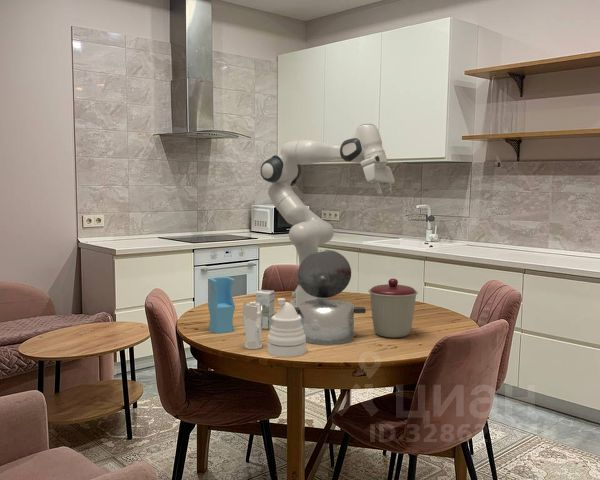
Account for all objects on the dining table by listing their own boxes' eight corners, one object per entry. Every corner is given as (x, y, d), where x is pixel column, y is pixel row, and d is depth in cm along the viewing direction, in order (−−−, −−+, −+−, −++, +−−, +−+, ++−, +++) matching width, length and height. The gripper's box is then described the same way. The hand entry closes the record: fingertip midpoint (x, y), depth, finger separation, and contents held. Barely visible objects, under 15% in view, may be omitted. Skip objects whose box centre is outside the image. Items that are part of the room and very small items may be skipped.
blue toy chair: (215, 333, 220) (214, 280, 218) (208, 329, 227) (207, 277, 225) (235, 331, 224) (234, 279, 222) (227, 326, 231) (227, 276, 229)
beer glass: (243, 344, 206) (242, 301, 205) (263, 343, 207) (263, 301, 205) (243, 349, 199) (242, 306, 198) (263, 349, 200) (263, 305, 198)
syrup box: (275, 326, 231) (274, 290, 230) (269, 330, 226) (269, 292, 224) (261, 325, 233) (261, 289, 232) (255, 328, 228) (255, 291, 226)
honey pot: (275, 359, 189) (275, 303, 188) (262, 348, 201) (261, 296, 199) (312, 354, 194) (312, 300, 193) (296, 344, 206) (296, 293, 204)
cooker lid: (297, 298, 224) (296, 294, 226) (349, 297, 225) (348, 293, 228) (298, 251, 215) (298, 247, 218) (352, 250, 216) (351, 247, 219)
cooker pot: (286, 329, 226) (286, 298, 225) (358, 328, 228) (359, 298, 227) (289, 345, 205) (289, 311, 204) (369, 344, 207) (369, 310, 206)
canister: (365, 328, 229) (366, 274, 227) (412, 328, 228) (413, 274, 226) (369, 340, 211) (370, 282, 209) (420, 341, 211) (422, 283, 208)
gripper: (379, 166, 250) (388, 197, 248) (358, 162, 232) (367, 195, 231) (393, 161, 246) (402, 192, 245) (372, 156, 229) (381, 190, 227)
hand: (385, 194), depth 238 cm, fingers open, 8 cm apart
